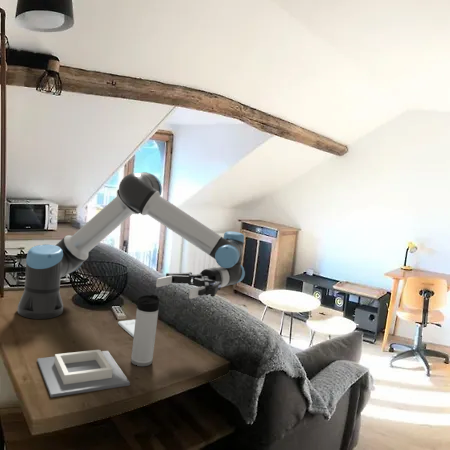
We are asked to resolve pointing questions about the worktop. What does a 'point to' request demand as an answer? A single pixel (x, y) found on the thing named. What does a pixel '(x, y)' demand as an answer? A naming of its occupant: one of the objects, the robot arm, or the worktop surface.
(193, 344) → the worktop surface
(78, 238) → the robot arm
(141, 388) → the worktop surface
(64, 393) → the dock
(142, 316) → the travel mug
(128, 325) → the external hard drive
